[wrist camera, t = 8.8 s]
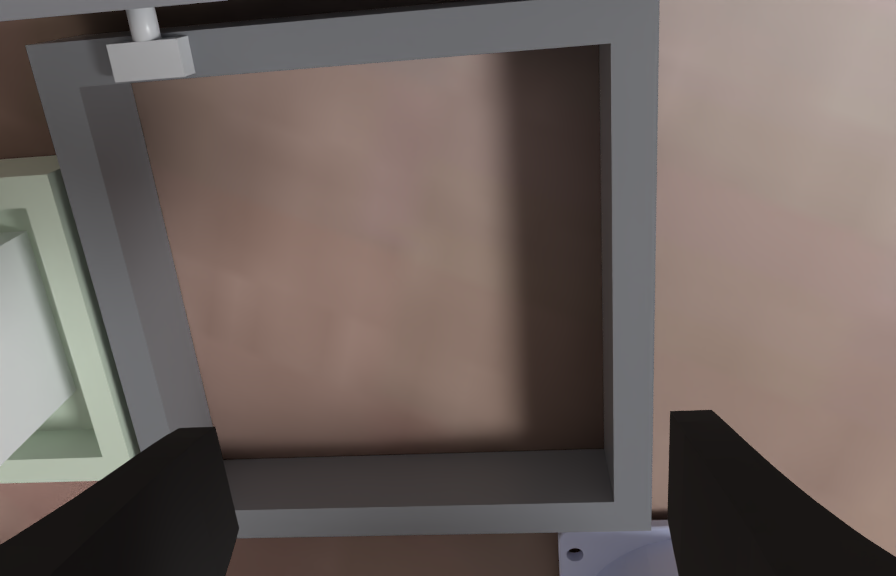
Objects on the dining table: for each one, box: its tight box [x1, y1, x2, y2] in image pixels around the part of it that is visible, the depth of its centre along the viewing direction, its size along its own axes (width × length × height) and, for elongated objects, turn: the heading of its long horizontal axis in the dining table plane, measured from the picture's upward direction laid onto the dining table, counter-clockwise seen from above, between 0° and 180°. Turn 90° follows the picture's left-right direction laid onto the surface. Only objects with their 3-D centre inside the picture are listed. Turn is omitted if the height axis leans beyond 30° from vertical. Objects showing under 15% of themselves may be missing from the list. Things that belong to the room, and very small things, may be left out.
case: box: [0, 0, 659, 538], centre depth 19 cm, size 15×14×5 cm
